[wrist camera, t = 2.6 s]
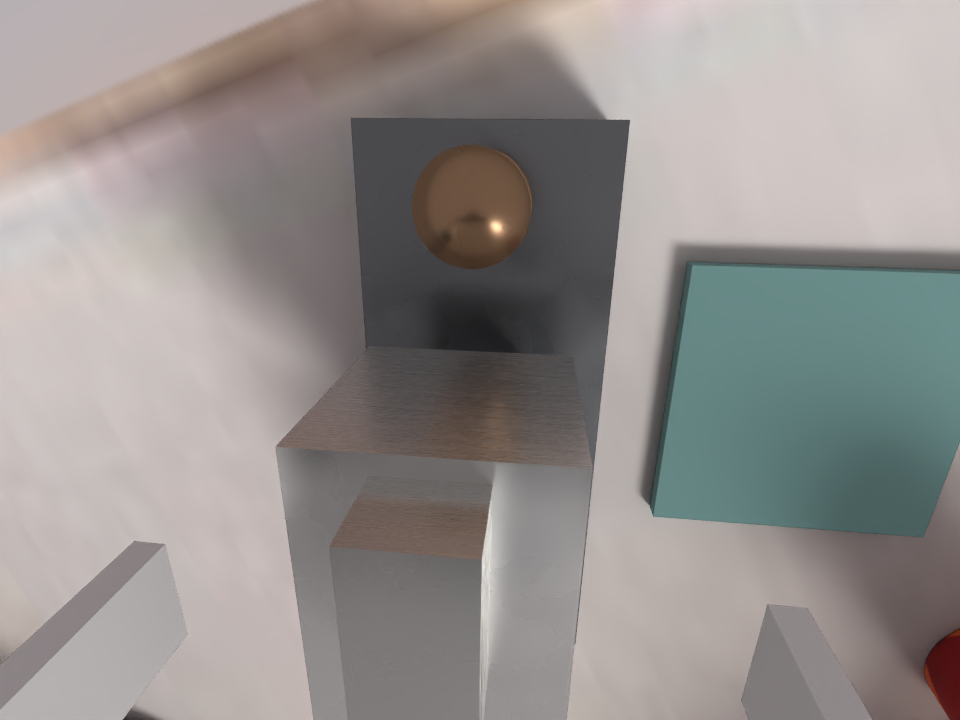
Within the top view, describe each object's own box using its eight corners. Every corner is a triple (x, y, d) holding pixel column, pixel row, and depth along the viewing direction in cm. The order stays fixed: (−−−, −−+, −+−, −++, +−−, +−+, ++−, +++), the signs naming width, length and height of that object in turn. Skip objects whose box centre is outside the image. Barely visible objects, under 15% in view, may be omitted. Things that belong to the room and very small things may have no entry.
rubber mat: (649, 506, 26) (653, 516, 25) (687, 261, 21) (692, 265, 21) (911, 525, 25) (923, 537, 24) (1005, 271, 20) (1022, 275, 20)
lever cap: (385, 582, 19) (282, 858, 11) (370, 345, 16) (214, 511, 8) (553, 598, 18) (562, 899, 11) (573, 356, 15) (605, 543, 8)
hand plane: (404, 565, 29) (339, 757, 19) (384, 126, 21) (259, 95, 12) (570, 580, 28) (585, 789, 18) (613, 128, 20) (676, 96, 11)
